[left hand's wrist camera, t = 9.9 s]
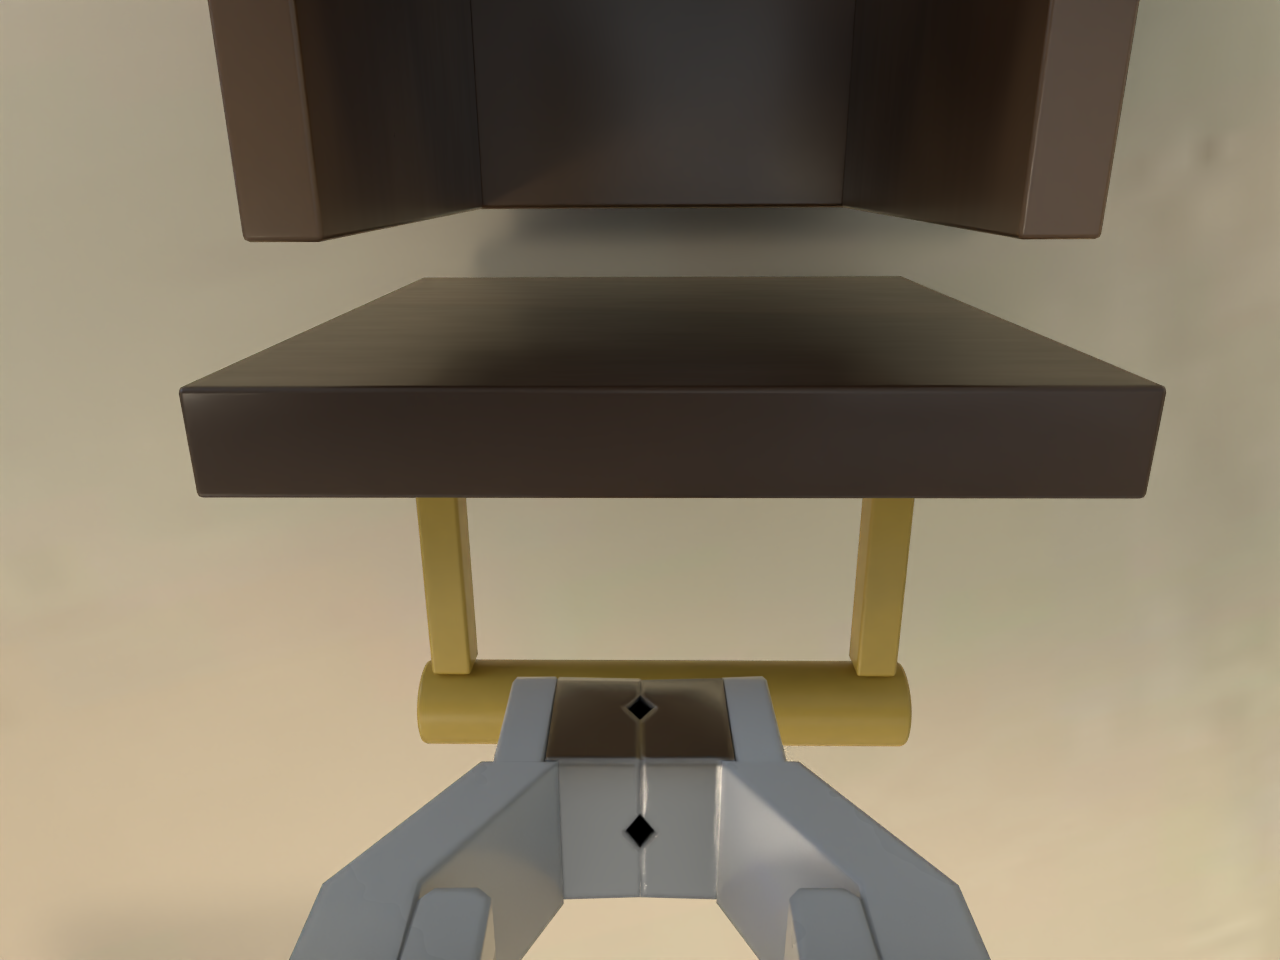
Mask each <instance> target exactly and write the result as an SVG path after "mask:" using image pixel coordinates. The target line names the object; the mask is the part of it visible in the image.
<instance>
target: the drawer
mask: <svg viewBox="0 0 1280 960" xmlns="http://www.w3.org/2000/svg"><path fill="white" fill-rule="evenodd" d="M208 5H209V12H210V19H211V25H212V32H213V39H214V45H215V52H216V59H217V65H218V72H219V79H220V85H221V92H222V99H223V105H224V112H225V119H226V125H227V132H228V139H229V145H230V152H231V159H232V165H233V172H234V179H235V185H236V192H237V199H238V205H239V212H240V219H241V225H242V232H243V237H244V239H245V240H247V241H249V242H321V241H326V240H330V239H335V238H340V237H345V236H350V235H355V234H360V233H365V232H370V231H375V230H380V229H384V228H389V227H394V226H399V225H404V224H409V223H414V222H419V221H424V220H429V219H434V218H438V217H443V216H448V215H453V214H458V213H463V212H468V211H473V210H478V209H564V208H792V207H845V208H850V209H856V210H861V211H867V212H873V213H878V214H884V215H889V216H895V217H901V218H906V219H912V220H917V221H923V222H928V223H934V224H940V225H945V226H951V227H956V228H962V229H967V230H973V231H979V232H984V233H990V234H995V235H1001V236H1007V237H1012V238H1018V239H1095V238H1098V237H1100V235H1101V231H1102V225H1103V219H1104V213H1105V207H1106V201H1107V194H1108V188H1109V182H1110V176H1111V170H1112V164H1113V158H1114V152H1115V146H1116V140H1117V134H1118V127H1119V121H1120V115H1121V109H1122V103H1123V97H1124V91H1125V85H1126V79H1127V73H1128V66H1129V60H1130V54H1131V48H1132V42H1133V36H1134V30H1135V24H1136V18H1137V12H1138V6H1139V0H208ZM179 396H180V402H181V407H182V413H183V418H184V424H185V429H186V434H187V440H188V445H189V451H190V456H191V462H192V467H193V472H194V478H195V483H196V489H197V493H198V495H199V496H200V497H295V498H416V504H417V515H418V525H419V536H420V546H421V556H422V567H423V577H424V588H425V598H426V609H427V619H428V630H429V640H430V650H431V660H430V661H428V662H427V664H426V665H425V667H424V670H423V673H422V676H421V679H420V684H419V691H418V700H417V720H418V728H419V733H420V736H421V739H422V740H423V741H424V742H426V743H428V744H498V740H499V736H500V732H501V728H502V724H503V720H504V715H505V711H506V707H507V703H508V699H509V695H510V691H511V687H512V683H513V681H514V680H515V679H516V678H517V677H556V678H557V679H558V678H559V677H585V678H635V679H640V680H659V679H702V678H725V677H752V676H763V677H764V678H765V679H766V680H767V683H768V688H769V692H770V696H771V700H772V704H773V708H774V712H775V716H776V720H777V724H778V728H779V732H780V736H781V740H782V745H783V746H902V745H904V744H905V743H906V742H907V740H908V737H909V733H910V728H911V717H912V710H911V696H910V689H909V684H908V680H907V677H906V674H905V671H904V669H903V667H902V666H901V664H899V663H898V662H897V658H898V649H899V639H900V630H901V620H902V611H903V601H904V592H905V583H906V573H907V564H908V554H909V545H910V535H911V526H912V517H913V507H914V498H1143V497H1144V496H1145V495H1146V491H1147V486H1148V481H1149V476H1150V471H1151V466H1152V461H1153V456H1154V451H1155V446H1156V441H1157V436H1158V431H1159V426H1160V421H1161V416H1162V411H1163V406H1164V401H1165V396H1166V389H1165V387H1164V386H1162V385H1159V384H1157V383H1154V382H1152V381H1150V380H1147V379H1145V378H1142V377H1140V376H1138V375H1135V374H1133V373H1131V372H1128V371H1126V370H1123V369H1121V368H1119V367H1116V366H1114V365H1111V364H1109V363H1107V362H1104V361H1102V360H1099V359H1097V358H1095V357H1092V356H1090V355H1087V354H1085V353H1083V352H1080V351H1078V350H1076V349H1073V348H1071V347H1068V346H1066V345H1064V344H1061V343H1059V342H1056V341H1054V340H1052V339H1049V338H1047V337H1044V336H1042V335H1040V334H1037V333H1035V332H1032V331H1030V330H1028V329H1025V328H1023V327H1021V326H1018V325H1016V324H1013V323H1011V322H1009V321H1006V320H1004V319H1001V318H999V317H997V316H994V315H992V314H989V313H987V312H985V311H982V310H980V309H978V308H975V307H973V306H970V305H968V304H966V303H963V302H961V301H958V300H956V299H954V298H951V297H949V296H946V295H944V294H942V293H939V292H937V291H934V290H932V289H930V288H927V287H925V286H923V285H920V284H918V283H915V282H913V281H911V280H908V279H906V278H903V277H901V276H845V277H521V278H422V279H420V280H418V281H416V282H413V283H411V284H409V285H407V286H405V287H402V288H400V289H398V290H396V291H393V292H391V293H389V294H387V295H385V296H382V297H380V298H378V299H376V300H374V301H371V302H369V303H367V304H365V305H362V306H360V307H358V308H356V309H354V310H351V311H349V312H347V313H345V314H343V315H340V316H338V317H336V318H334V319H332V320H329V321H327V322H325V323H323V324H320V325H318V326H316V327H314V328H312V329H309V330H307V331H305V332H303V333H301V334H298V335H296V336H294V337H292V338H289V339H287V340H285V341H283V342H281V343H278V344H276V345H274V346H272V347H270V348H267V349H265V350H263V351H261V352H258V353H256V354H254V355H252V356H250V357H247V358H245V359H243V360H241V361H239V362H236V363H234V364H232V365H230V366H228V367H225V368H223V369H221V370H219V371H216V372H214V373H212V374H210V375H208V376H205V377H203V378H201V379H199V380H197V381H194V382H192V383H190V384H188V385H185V386H183V387H181V388H180V390H179ZM466 498H863V500H862V512H861V523H860V535H859V547H858V559H857V570H856V582H855V594H854V606H853V618H852V629H851V641H850V653H849V656H850V659H851V661H710V660H476V657H477V654H478V652H477V638H476V625H475V612H474V599H473V585H472V572H471V559H470V546H469V532H468V519H467V506H466Z"/></svg>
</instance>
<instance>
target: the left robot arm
mask: <svg viewBox="0 0 1280 960" xmlns="http://www.w3.org/2000/svg"><path fill="white" fill-rule="evenodd" d="M623 897H655V898H691V899H717V904H718V905H719V907H720V908H721V909H722V911H723V912H724V913H725V915H726V916H727V917H728V919H729V920H730V921H731V923H732V924H733V925H734V927H735V928H736V929H737V931H738V932H739V933H740V935H741V936H742V937H743V939H744V940H745V941H746V943H747V944H748V945H749V947H750V948H751V949H752V951H753V952H754V953H755V955H756V956H757V957H758V959H759V960H991V959H990V957H989V955H988V952H987V950H986V948H985V945H984V943H983V941H982V938H981V936H980V934H979V931H978V929H977V927H976V925H975V922H974V920H973V918H972V915H971V913H970V911H969V908H968V906H967V904H966V901H965V899H964V897H963V895H962V892H961V890H960V888H959V885H957V884H956V883H955V882H954V881H952V880H951V879H950V878H948V877H947V876H946V875H944V874H943V873H942V872H941V871H939V870H938V869H937V868H935V867H934V866H933V865H932V864H930V863H929V862H928V861H926V860H925V859H924V858H923V857H921V856H920V855H919V854H917V853H916V852H915V851H914V850H912V849H911V848H910V847H908V846H907V845H906V844H904V843H903V842H902V841H901V840H899V839H898V838H897V837H895V836H894V835H893V834H892V833H890V832H889V831H888V830H886V829H885V828H884V827H883V826H881V825H880V824H879V823H877V822H876V821H875V820H874V819H872V818H871V817H870V816H868V815H867V814H866V813H864V812H863V811H862V810H861V809H859V808H858V807H857V806H855V805H854V804H853V803H852V802H850V801H849V800H848V799H846V798H845V797H844V796H843V795H841V794H840V793H839V792H837V791H836V790H835V789H834V788H832V787H831V786H830V785H828V784H827V783H826V782H824V781H823V780H822V779H821V778H819V777H818V776H817V775H815V774H814V773H813V772H812V771H810V770H809V769H808V768H806V767H805V766H804V765H803V764H801V763H800V762H787V761H786V757H785V753H784V749H783V745H782V740H781V736H780V732H779V728H778V724H777V720H776V716H775V712H774V708H773V704H772V700H771V696H770V692H769V688H768V683H767V680H766V679H765V678H764V677H763V676H752V677H725V678H702V679H659V680H640V679H635V678H585V677H559V678H558V679H557V678H556V677H517V678H516V679H515V680H514V681H513V683H512V687H511V691H510V695H509V699H508V703H507V707H506V711H505V715H504V720H503V724H502V728H501V732H500V736H499V740H498V744H497V748H496V752H495V757H494V761H493V762H480V763H479V764H477V765H476V766H475V767H474V768H472V769H471V770H470V771H468V772H467V773H466V774H465V775H463V776H462V777H461V778H459V779H458V780H457V781H455V782H454V783H453V784H452V785H450V786H449V787H448V788H446V789H445V790H444V791H442V792H441V793H440V794H439V795H437V796H436V797H435V798H433V799H432V800H431V801H430V802H428V803H427V804H426V805H424V806H423V807H422V808H420V809H419V810H418V811H417V812H415V813H414V814H413V815H411V816H410V817H409V818H407V819H406V820H405V821H404V822H402V823H401V824H400V825H398V826H397V827H396V828H395V829H393V830H392V831H391V832H389V833H388V834H387V835H385V836H384V837H383V838H382V839H380V840H379V841H378V842H376V843H375V844H374V845H372V846H371V847H370V848H369V849H367V850H366V851H365V852H363V853H362V854H361V855H359V856H358V857H357V858H356V859H354V860H353V861H352V862H350V863H349V864H348V865H347V866H345V867H344V868H343V869H341V870H340V871H339V872H337V873H336V874H335V875H334V876H332V877H331V878H330V879H328V880H327V881H326V882H324V883H323V884H322V886H321V889H320V891H319V893H318V895H317V898H316V900H315V902H314V905H313V907H312V909H311V911H310V914H309V916H308V918H307V920H306V923H305V925H304V927H303V930H302V932H301V934H300V936H299V939H298V941H297V943H296V946H295V948H294V950H293V952H292V955H291V957H290V959H289V960H521V959H522V958H523V957H524V955H525V954H526V953H527V951H528V950H529V949H530V947H531V946H532V945H533V943H534V942H535V941H536V939H537V938H538V937H539V935H540V934H541V933H542V931H543V930H544V929H545V927H546V926H547V925H548V924H549V922H550V921H551V920H552V918H553V917H554V916H555V914H556V913H557V912H558V910H559V909H560V908H561V906H562V905H563V899H588V898H623Z"/></svg>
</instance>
